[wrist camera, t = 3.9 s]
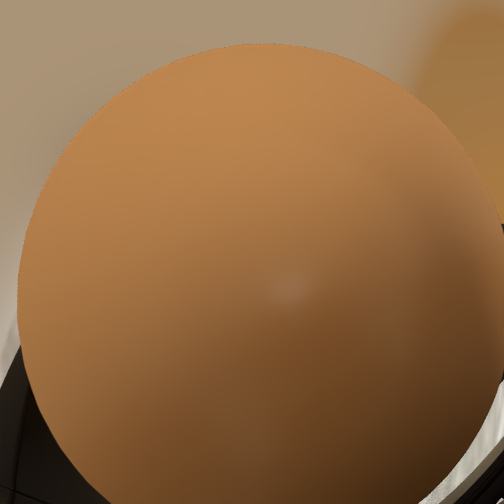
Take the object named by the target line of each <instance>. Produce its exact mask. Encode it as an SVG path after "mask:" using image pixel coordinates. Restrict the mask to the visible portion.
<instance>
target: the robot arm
mask: <svg viewBox="0 0 504 504" xmlns="http://www.w3.org/2000/svg"><path fill="white" fill-rule="evenodd" d="M501 226H502V229H503V233H504V224H501ZM503 380H504V371H503V375H502V379H501V382H502V381H503ZM501 382H500V383H501ZM501 498H503V499H504V437H503V438H502V439H501V440H500V442H499V443H498V444H497V445H496V446H495V447H494V449H493V450H492V451H491V452H490V453H489V454H488V456H487V457H486V458H485V459H484V460H483V461H482V462H481V463H480V464H479V465H478V467H477V468H476V469H475V470H474V471H473V472H472V473H471V474H470V475H469V476H468V477H467V478H466V479H465V480H464V481H463V482H462V483H461V484H460V485H459V486H458V487H457V488H456V489H455V490H454V491H453V492H451V493H450V494H449V495H448V496H447V497H446V498H445V499H444V500H443V501H442V502H440V503H439V504H496V503H497V502H498V501H499V500H500V499H501ZM0 504H111V503H110V502H109V501H108V500H107V499H105V498H104V497H103V496H102V495H101V494H100V493H99V492H98V491H97V490H96V489H94V488H93V487H92V486H91V485H90V484H89V483H88V482H87V481H86V480H85V479H84V477H83V476H82V475H81V474H80V473H79V471H78V470H77V469H76V468H75V466H74V465H73V464H72V463H71V461H70V460H69V459H68V457H67V456H66V455H65V453H64V452H63V451H62V449H61V448H60V446H59V445H58V443H57V441H56V440H55V438H54V436H53V434H52V432H51V431H50V429H49V427H48V425H47V423H46V421H45V419H44V418H43V416H42V414H41V412H40V410H39V407H38V405H37V402H36V399H35V396H34V394H33V391H32V388H31V385H30V382H29V379H28V376H27V373H26V369H25V366H24V360H23V355H22V349H21V345H20V347H19V349H18V351H17V353H16V355H15V357H14V359H13V362H12V364H11V366H10V368H9V370H8V372H7V375H6V377H5V379H4V381H3V384H2V386H1V388H0ZM499 504H504V500H503V501H502V502H500V503H499Z"/></svg>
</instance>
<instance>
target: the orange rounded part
mask: <svg viewBox="0 0 504 504" xmlns="http://www.w3.org/2000/svg"><path fill="white" fill-rule="evenodd" d="M17 297H18V299H17V319H18V329H19V336H20V343H21V349H22V355H23V360H24V366H25V369H26V373H27V376H28V379H29V382H30V385H31V388H32V391H33V394H34V396H35V399H36V402H37V405H38V407H39V410H40V412H41V414H42V416H43V418H44V419H45V421H46V423H47V425H48V427H49V429H50V431H51V432H52V434H53V436H54V438H55V440H56V441H57V443H58V445H59V446H60V448H61V449H62V451H63V452H64V453H65V455H66V456H67V457H68V459H69V460H70V461H71V463H72V464H73V465H74V466H75V468H76V469H77V470H78V471H79V473H80V474H81V475H82V476H83V477H84V479H85V480H86V481H87V482H88V483H89V484H90V485H91V486H92V487H93V488H94V489H96V490H97V491H98V492H99V493H100V494H101V495H102V496H103V497H104V498H105V499H107V500H108V501H109V502H110V503H111V504H418V503H419V502H420V501H422V500H423V499H424V498H425V497H427V496H428V495H429V494H430V493H431V492H432V491H433V490H434V489H435V488H436V487H437V486H438V485H439V484H440V483H441V482H442V481H443V480H444V479H445V478H446V477H447V476H448V474H449V473H450V472H451V471H452V470H453V468H454V467H455V466H456V465H457V463H458V462H459V461H460V459H461V458H462V457H463V455H464V454H465V453H466V451H467V450H468V448H469V447H470V445H471V444H472V442H473V440H474V439H475V437H476V435H477V434H478V432H479V430H480V429H481V427H482V425H483V423H484V421H485V419H486V417H487V415H488V412H489V410H490V408H491V406H492V404H493V401H494V398H495V396H496V393H497V390H498V387H499V385H500V382H501V379H502V375H503V371H504V233H503V229H502V226H501V222H500V219H499V217H498V214H497V211H496V208H495V206H494V203H493V200H492V198H491V196H490V193H489V191H488V189H487V187H486V185H485V183H484V181H483V179H482V177H481V175H480V173H479V171H478V170H477V168H476V167H475V165H474V163H473V162H472V160H471V158H470V157H469V155H468V154H467V152H466V151H465V149H464V148H463V147H462V146H461V144H460V143H459V142H458V140H457V139H456V138H455V136H454V135H453V134H452V133H451V131H450V130H449V129H448V128H447V127H446V126H445V125H444V124H443V123H442V121H441V120H440V119H439V118H438V117H437V116H436V115H435V114H434V113H433V112H432V111H431V110H429V108H428V107H426V106H425V105H424V104H423V103H422V102H420V101H419V100H418V99H417V98H416V97H414V96H413V95H412V94H411V93H410V92H408V91H407V90H405V89H404V88H402V87H401V86H399V85H398V84H396V83H395V82H393V81H392V80H390V79H389V78H387V77H385V76H384V75H381V74H380V73H378V72H376V71H374V70H372V69H370V68H368V67H366V66H364V65H362V64H360V63H357V62H355V61H352V60H349V59H347V58H344V57H341V56H338V55H335V54H332V53H328V52H324V51H320V50H316V49H311V48H307V47H301V46H292V45H283V44H246V45H245V44H244V45H236V46H230V47H224V48H218V49H212V50H208V51H205V52H202V53H198V54H195V55H192V56H189V57H185V58H182V59H180V60H177V61H175V62H172V63H170V64H168V65H166V66H164V67H162V68H160V69H158V70H156V71H153V72H152V73H149V74H148V75H146V76H144V77H143V78H141V79H140V80H138V81H136V82H135V83H133V84H132V85H131V86H129V87H128V88H126V89H125V90H123V91H122V92H120V93H119V94H117V95H116V96H115V97H114V98H112V99H111V100H110V101H109V102H108V103H107V104H106V105H105V106H104V107H102V108H101V109H100V110H99V111H98V112H97V113H96V114H95V115H94V116H93V117H92V118H91V119H90V120H89V121H88V122H87V123H86V124H85V125H84V126H83V128H82V129H81V130H80V131H79V133H78V134H77V135H76V136H75V138H74V139H73V140H72V141H71V143H70V144H69V145H68V147H67V148H66V149H65V151H64V152H63V153H62V155H61V156H60V158H59V159H58V161H57V163H56V165H55V166H54V168H53V170H52V172H51V174H50V175H49V177H48V179H47V181H46V183H45V185H44V186H43V188H42V190H41V192H40V195H39V198H38V200H37V203H36V205H35V208H34V211H33V214H32V217H31V219H30V222H29V225H28V228H27V231H26V235H25V240H24V245H23V250H22V256H21V261H20V268H19V274H18V295H17Z"/></svg>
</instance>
